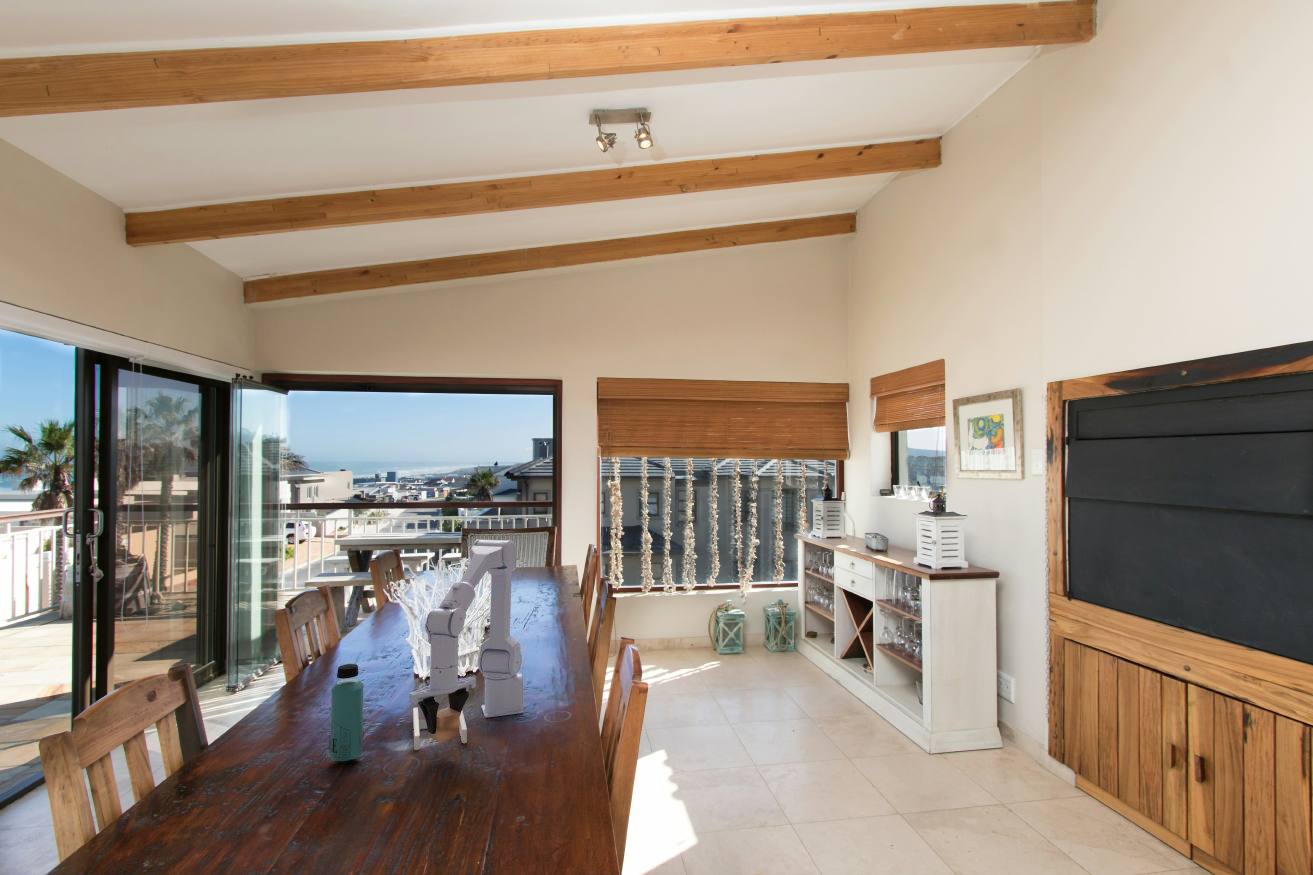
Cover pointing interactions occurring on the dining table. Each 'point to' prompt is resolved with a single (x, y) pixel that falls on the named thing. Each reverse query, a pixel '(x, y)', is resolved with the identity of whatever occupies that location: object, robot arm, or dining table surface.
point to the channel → (422, 726)
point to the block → (446, 725)
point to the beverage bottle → (346, 715)
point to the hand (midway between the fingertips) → (442, 728)
